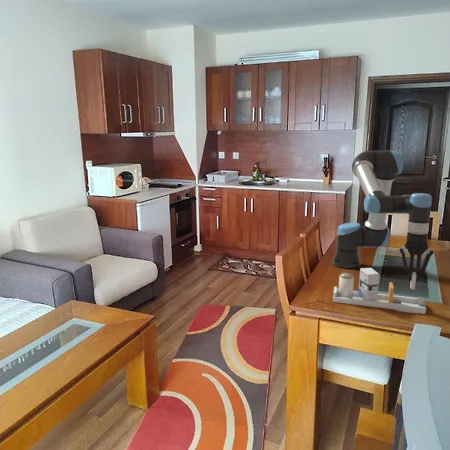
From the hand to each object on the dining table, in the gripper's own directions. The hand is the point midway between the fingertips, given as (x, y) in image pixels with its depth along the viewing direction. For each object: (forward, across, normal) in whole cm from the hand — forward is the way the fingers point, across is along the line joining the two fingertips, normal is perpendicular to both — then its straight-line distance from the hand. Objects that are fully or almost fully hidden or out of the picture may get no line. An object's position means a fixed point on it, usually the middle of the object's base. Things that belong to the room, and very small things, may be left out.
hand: (412, 288), depth 163 cm
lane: (+9, -13, 0) cm, 16 cm away
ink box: (+6, -17, 0) cm, 18 cm away
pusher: (+8, -6, 0) cm, 10 cm away
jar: (+8, -26, 0) cm, 27 cm away
